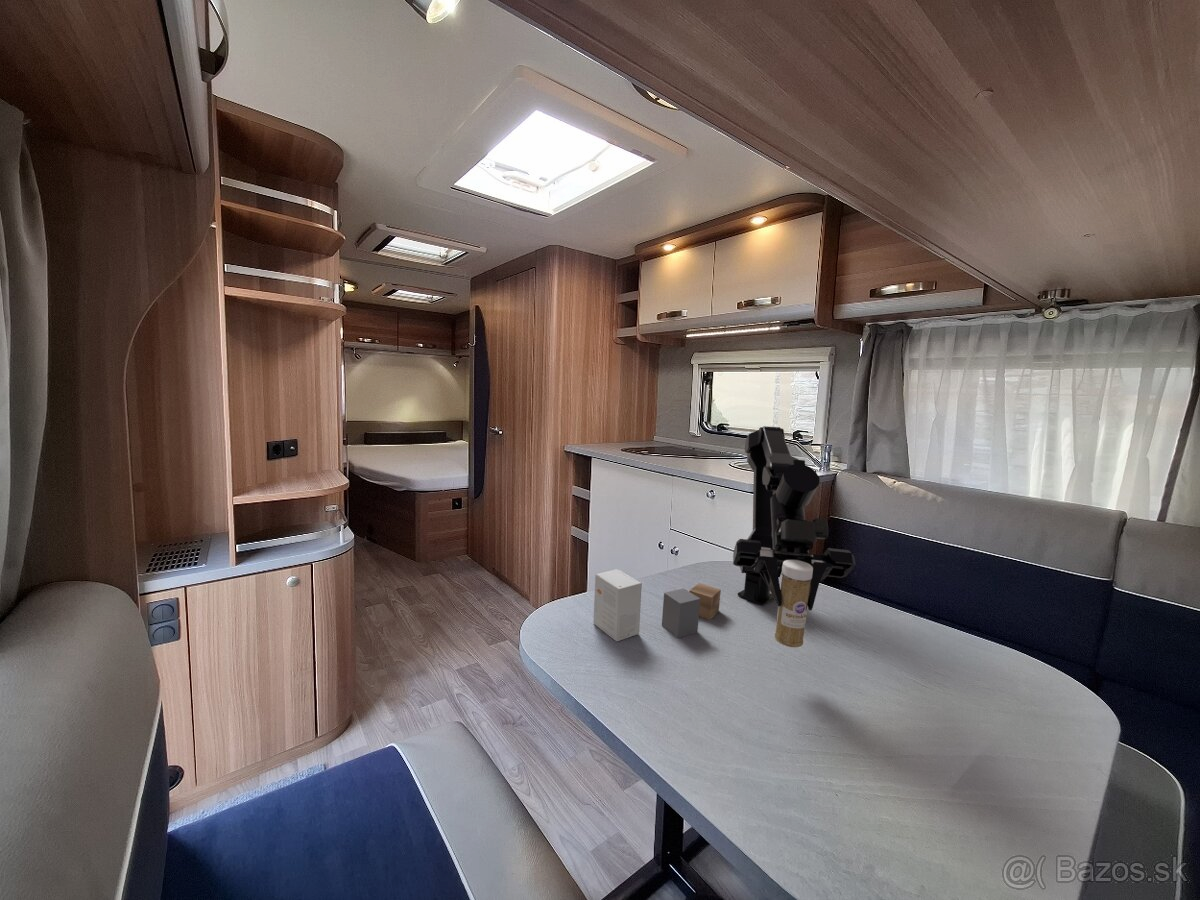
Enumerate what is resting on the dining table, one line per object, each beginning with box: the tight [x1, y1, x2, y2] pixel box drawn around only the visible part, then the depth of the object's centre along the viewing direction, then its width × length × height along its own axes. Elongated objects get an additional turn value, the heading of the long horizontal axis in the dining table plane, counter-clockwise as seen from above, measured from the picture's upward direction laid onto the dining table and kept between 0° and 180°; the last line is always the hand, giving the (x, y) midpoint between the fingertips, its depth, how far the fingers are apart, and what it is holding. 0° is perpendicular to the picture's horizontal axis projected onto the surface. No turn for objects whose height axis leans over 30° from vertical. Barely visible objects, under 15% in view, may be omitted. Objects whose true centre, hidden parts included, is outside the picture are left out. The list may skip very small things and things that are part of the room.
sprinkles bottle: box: [774, 560, 813, 648], centre depth 77 cm, size 5×5×13 cm
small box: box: [592, 569, 643, 643], centre depth 91 cm, size 8×6×10 cm
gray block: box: [661, 587, 700, 638], centre depth 93 cm, size 5×5×7 cm
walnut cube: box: [688, 582, 722, 621], centre depth 101 cm, size 5×5×5 cm
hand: (794, 607), depth 76 cm, fingers closed on sprinkles bottle, 4 cm apart
